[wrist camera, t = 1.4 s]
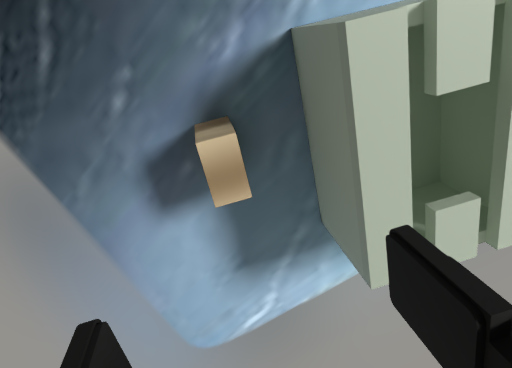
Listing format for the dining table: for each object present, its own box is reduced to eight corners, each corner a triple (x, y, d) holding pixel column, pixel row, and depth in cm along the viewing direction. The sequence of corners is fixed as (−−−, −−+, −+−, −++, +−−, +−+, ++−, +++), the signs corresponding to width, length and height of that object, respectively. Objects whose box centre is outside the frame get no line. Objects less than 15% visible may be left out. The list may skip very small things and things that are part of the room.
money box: (290, 28, 23) (345, 21, 15) (449, -11, 24) (581, -38, 16) (321, 222, 30) (371, 289, 22) (445, 185, 31) (537, 237, 23)
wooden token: (194, 124, 25) (195, 143, 20) (227, 116, 25) (235, 132, 20) (211, 179, 27) (215, 207, 22) (241, 170, 27) (252, 197, 22)
